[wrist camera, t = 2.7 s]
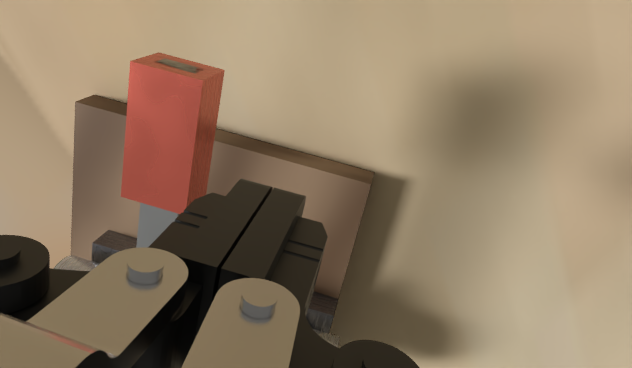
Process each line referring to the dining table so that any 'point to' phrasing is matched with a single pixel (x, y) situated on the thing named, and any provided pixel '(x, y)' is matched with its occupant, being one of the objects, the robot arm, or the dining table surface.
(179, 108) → the lever
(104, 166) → the mounting board
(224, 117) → the dining table surface
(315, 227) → the robot arm
